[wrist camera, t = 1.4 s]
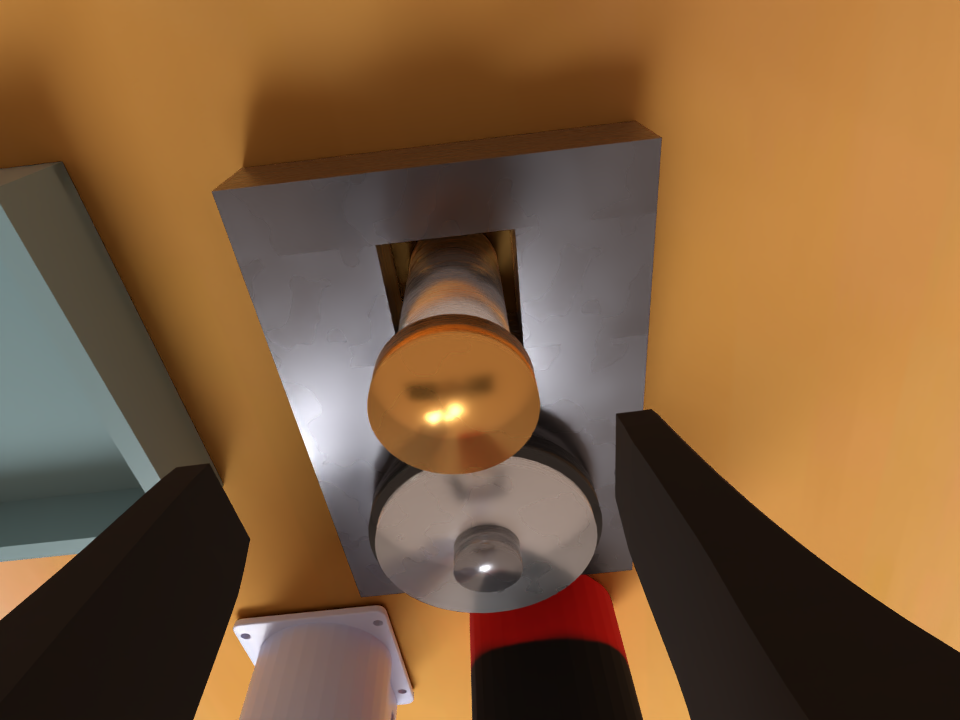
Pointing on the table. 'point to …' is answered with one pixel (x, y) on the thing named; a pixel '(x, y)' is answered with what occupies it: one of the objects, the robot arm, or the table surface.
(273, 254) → the bracket
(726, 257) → the table surface
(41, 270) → the tray
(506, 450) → the lock pin
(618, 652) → the soda can
